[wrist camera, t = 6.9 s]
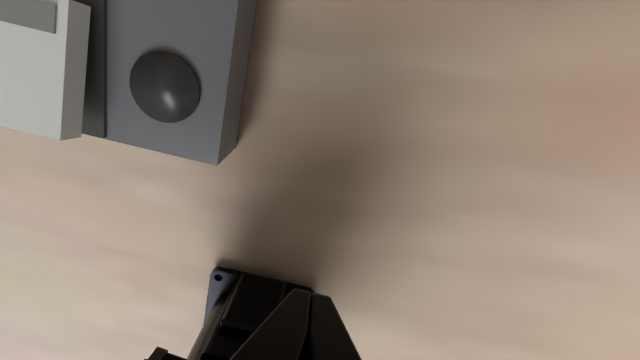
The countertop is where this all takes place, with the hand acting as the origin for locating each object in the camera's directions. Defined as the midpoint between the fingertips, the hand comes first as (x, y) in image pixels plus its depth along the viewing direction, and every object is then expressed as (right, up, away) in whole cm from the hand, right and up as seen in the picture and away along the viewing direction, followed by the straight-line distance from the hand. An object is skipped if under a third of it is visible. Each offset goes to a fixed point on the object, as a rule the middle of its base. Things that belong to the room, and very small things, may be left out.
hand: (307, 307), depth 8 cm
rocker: (-11, +7, +6) cm, 14 cm away
